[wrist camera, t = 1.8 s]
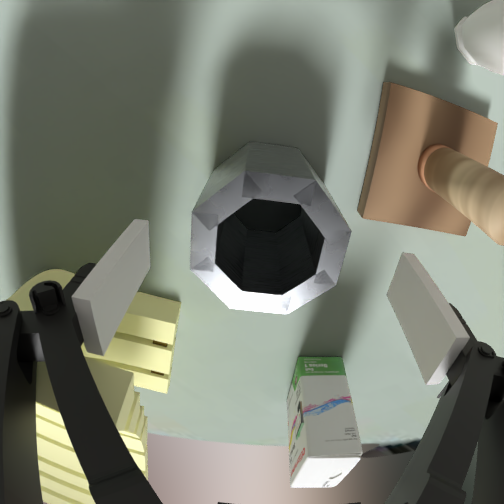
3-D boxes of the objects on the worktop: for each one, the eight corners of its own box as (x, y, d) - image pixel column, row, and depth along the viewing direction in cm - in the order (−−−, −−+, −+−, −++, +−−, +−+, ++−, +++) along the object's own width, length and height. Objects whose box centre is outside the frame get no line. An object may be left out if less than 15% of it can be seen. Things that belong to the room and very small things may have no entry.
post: (357, 210, 24) (408, 291, 15) (383, 82, 19) (467, 89, 10) (457, 228, 24) (525, 299, 15) (487, 120, 19) (578, 154, 10)
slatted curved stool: (28, 180, 23) (-122, 296, 7) (196, 217, 25) (113, 431, 9) (60, 385, 37) (16, 487, 22) (165, 419, 39) (141, 535, 23)
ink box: (297, 354, 32) (306, 458, 21) (343, 355, 32) (365, 454, 21) (284, 401, 36) (288, 490, 25) (324, 402, 36) (336, 488, 25)
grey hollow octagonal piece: (208, 240, 25) (189, 303, 18) (216, 138, 22) (194, 165, 15) (309, 251, 26) (325, 317, 19) (329, 153, 22) (362, 187, 15)
